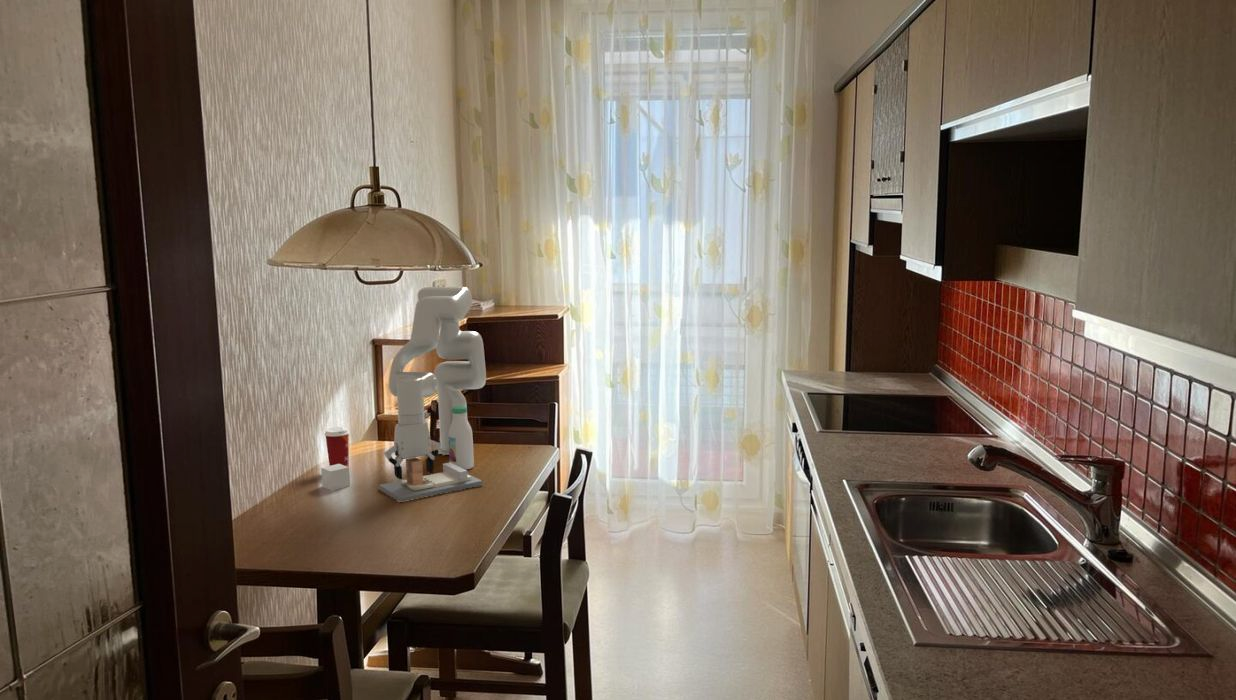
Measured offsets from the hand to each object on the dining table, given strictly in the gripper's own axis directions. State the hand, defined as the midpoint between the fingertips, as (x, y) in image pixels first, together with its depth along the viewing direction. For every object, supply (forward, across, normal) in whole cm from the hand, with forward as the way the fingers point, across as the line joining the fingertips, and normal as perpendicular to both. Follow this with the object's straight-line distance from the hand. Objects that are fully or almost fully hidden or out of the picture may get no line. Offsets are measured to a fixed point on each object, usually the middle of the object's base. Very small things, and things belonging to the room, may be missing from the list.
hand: (414, 475), depth 260 cm
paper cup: (+5, +11, -35) cm, 37 cm away
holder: (+5, -5, 0) cm, 7 cm away
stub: (+3, -1, 0) cm, 3 cm away
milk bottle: (+5, -22, -14) cm, 27 cm away
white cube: (+5, +17, -20) cm, 27 cm away
